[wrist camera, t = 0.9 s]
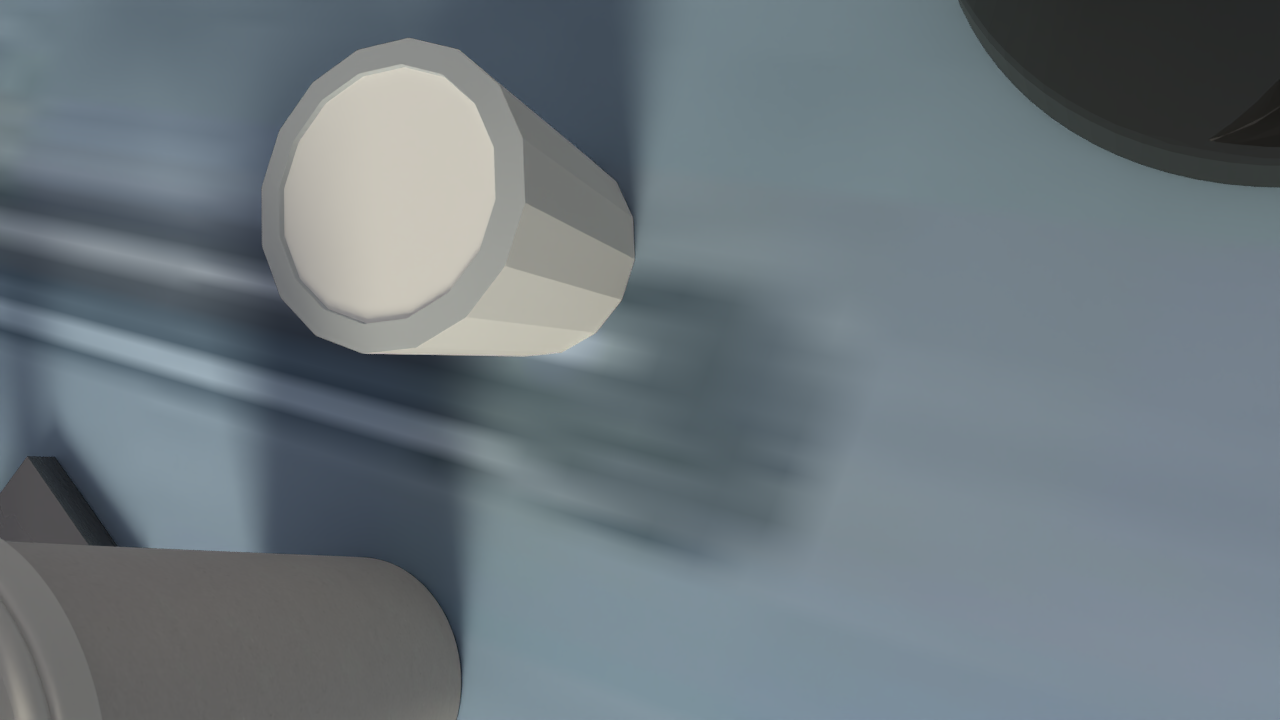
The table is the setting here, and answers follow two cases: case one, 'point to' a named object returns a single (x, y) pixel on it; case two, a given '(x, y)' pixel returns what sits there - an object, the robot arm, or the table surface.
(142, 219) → the table surface
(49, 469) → the balance
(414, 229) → the shot glass
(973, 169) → the table surface
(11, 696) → the coffee cup
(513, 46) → the table surface
